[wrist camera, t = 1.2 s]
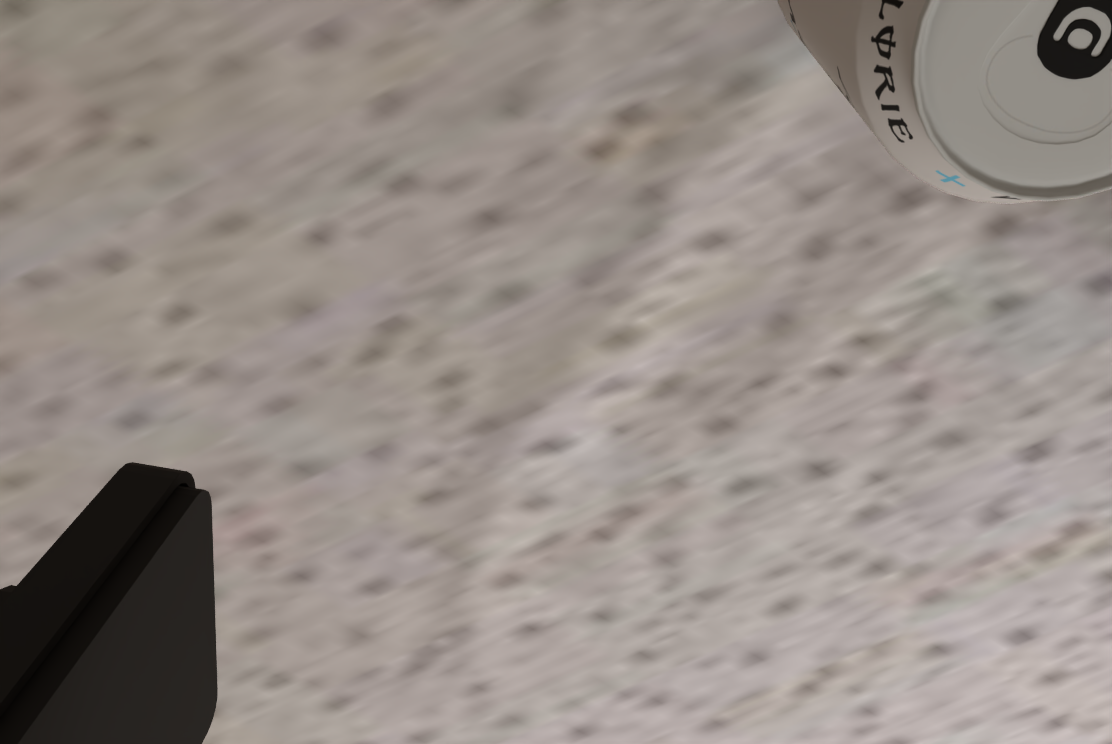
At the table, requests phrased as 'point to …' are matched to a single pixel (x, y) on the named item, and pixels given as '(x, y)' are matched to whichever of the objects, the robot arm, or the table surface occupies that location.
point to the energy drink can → (976, 89)
